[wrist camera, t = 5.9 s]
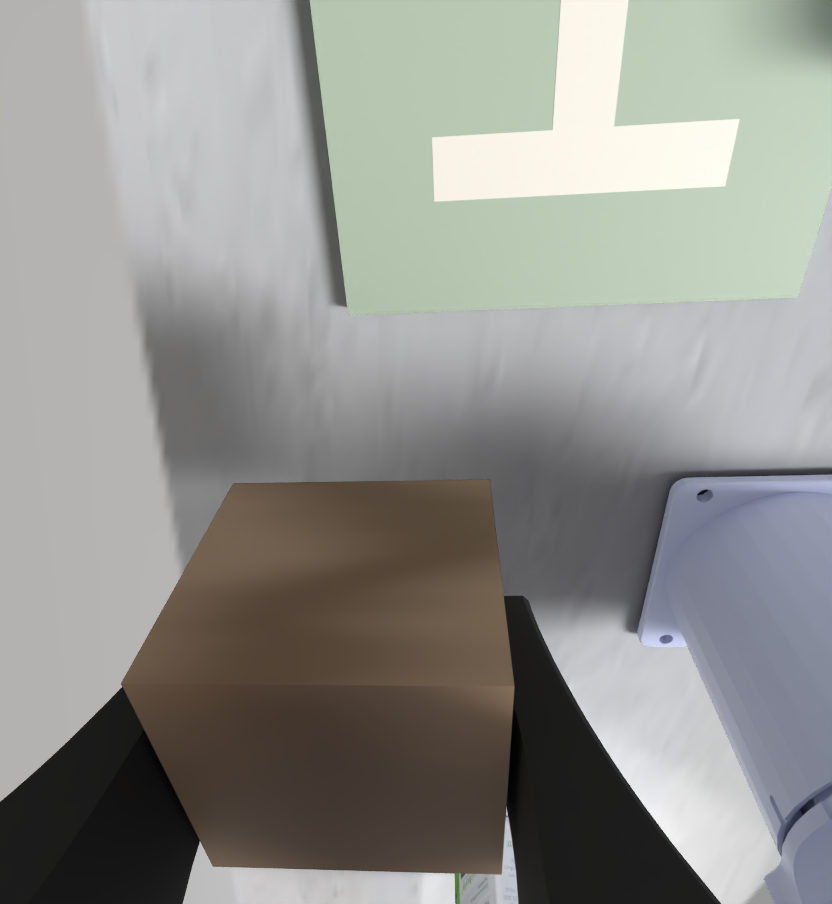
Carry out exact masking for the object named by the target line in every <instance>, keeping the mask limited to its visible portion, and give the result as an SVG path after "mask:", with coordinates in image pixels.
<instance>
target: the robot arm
mask: <svg viewBox="0 0 832 904" xmlns="http://www.w3.org/2000/svg"><path fill="white" fill-rule="evenodd" d="M706 489H708V490H707V492H706V493H704V494H702V495H697V494H698V493H699V492H700V491H702V490H706ZM504 603H505V612H506V620H507V628H508V637H509V645H510V653H511V661H512V670H513V678H514V686H515V687H514V701H513V716H512V731H511V746H510V760H509V775H508V790H507V804H506V806H507V812H508V818H509V825H510V831H511V837H512V844H513V852H514V860H515V868H516V879H517V891H518V904H721V903H720V902H719V901H718V899H717V898H716V897H715V896H714V894H713V893H712V892H711V891H710V890H709V888H708V887H707V886H706V885H705V883H704V882H703V881H702V880H701V878H700V877H699V876H698V875H697V874H696V872H695V871H694V870H693V869H692V867H691V866H690V865H689V864H688V862H687V861H686V860H685V859H684V858H683V856H682V855H681V854H680V853H679V851H678V850H677V849H676V848H675V846H674V845H673V844H672V843H671V841H670V840H669V839H668V837H667V836H666V835H665V833H664V832H663V831H662V829H661V828H660V827H659V825H658V824H657V823H656V821H655V820H654V819H653V817H652V816H651V815H650V813H649V812H648V811H647V809H646V808H645V807H644V805H643V804H642V802H641V801H640V799H639V798H638V797H637V795H636V794H635V792H634V791H633V790H632V788H631V787H630V785H629V784H628V783H627V781H626V780H625V778H624V777H623V775H622V774H621V772H620V771H619V769H618V768H617V766H616V765H615V763H614V762H613V760H612V759H611V757H610V756H609V754H608V753H607V751H606V750H605V748H604V747H603V745H602V743H601V742H600V740H599V739H598V737H597V735H596V734H595V732H594V731H593V729H592V727H591V726H590V724H589V722H588V721H587V719H586V717H585V716H584V714H583V712H582V711H581V709H580V707H579V706H578V704H577V702H576V700H575V698H574V697H573V695H572V693H571V691H570V689H569V688H568V686H567V684H566V682H565V680H564V679H563V677H562V675H561V673H560V671H559V669H558V667H557V665H556V663H555V662H554V660H553V658H552V655H551V653H550V651H549V649H548V647H547V645H546V643H545V641H544V639H543V637H542V634H541V632H540V630H539V628H538V625H537V623H536V620H535V618H534V615H533V613H532V610H531V607H530V604H529V601H528V600H527V599H526V598H525V597H524V596H504ZM637 633H638V638H639V640H640V642H641V644H643V645H645V646H648V647H688V649H689V651H690V653H691V655H692V658H693V660H694V662H695V664H696V667H697V669H698V671H699V673H700V676H701V678H702V680H703V682H704V685H705V687H706V689H707V691H708V694H709V696H710V698H711V701H712V703H713V705H714V707H715V710H716V712H717V714H718V716H719V719H720V721H721V723H722V725H723V728H724V730H725V732H726V734H727V737H728V739H729V741H730V743H731V746H732V748H733V750H734V752H735V755H736V757H737V759H738V761H739V764H740V766H741V768H742V770H743V773H744V775H745V777H746V779H747V782H748V784H749V786H750V788H751V791H752V793H753V795H754V798H755V800H756V802H757V804H758V807H759V809H760V811H761V813H762V816H763V818H764V820H765V822H766V825H767V827H768V829H769V831H770V834H771V836H772V838H773V840H774V843H775V845H776V847H777V849H778V851H779V853H780V855H781V857H782V858H781V862H780V864H779V865H778V866H777V867H776V868H775V869H774V870H773V871H772V872H770V873H769V874H767V875H766V876H765V878H764V880H765V883H766V885H767V888H768V890H769V892H770V895H771V897H772V900H773V902H774V904H832V475H791V476H742V477H692V478H683V479H680V480H678V481H676V482H675V483H674V484H673V485H672V487H671V489H670V492H669V496H668V501H667V505H666V510H665V514H664V518H663V523H662V527H661V531H660V536H659V540H658V545H657V549H656V553H655V558H654V562H653V566H652V571H651V575H650V580H649V584H648V588H647V593H646V597H645V601H644V606H643V610H642V615H641V619H640V623H639V628H638V632H637ZM199 842H200V840H199V838H198V836H197V834H196V832H195V830H194V828H193V826H192V824H191V822H190V820H189V818H188V816H187V814H186V812H185V810H184V808H183V806H182V804H181V802H180V800H179V798H178V796H177V794H176V792H175V790H174V788H173V786H172V784H171V782H170V780H169V778H168V776H167V774H166V772H165V770H164V768H163V766H162V764H161V762H160V760H159V758H158V756H157V754H156V752H155V750H154V748H153V746H152V744H151V742H150V740H149V738H148V736H147V734H146V732H145V730H144V728H143V726H142V724H141V722H140V720H139V718H138V716H137V714H136V712H135V710H134V708H133V706H132V704H131V702H130V700H129V698H128V696H127V694H126V692H125V690H124V688H123V687H122V688H121V689H120V690H119V691H118V692H117V693H116V694H115V695H114V696H113V697H112V698H111V699H110V700H109V701H108V702H107V703H106V704H105V705H104V706H103V707H102V708H101V709H100V710H99V711H98V712H97V713H96V714H95V715H94V716H93V717H92V718H91V719H90V720H89V721H88V722H87V723H86V724H85V725H84V726H83V727H82V728H81V729H80V730H79V731H78V732H77V733H76V734H75V735H74V736H73V737H72V738H71V739H70V740H69V741H68V742H67V743H66V744H65V745H64V746H63V747H61V748H60V749H59V751H57V752H56V753H55V754H54V755H53V756H52V757H51V758H50V759H49V760H47V761H46V762H45V763H44V764H43V765H42V766H41V767H40V768H39V769H38V770H37V771H35V772H34V773H33V774H32V775H31V776H30V777H29V778H28V779H26V780H25V781H24V782H23V783H22V784H21V785H19V786H18V787H17V788H16V789H15V790H14V791H13V792H11V793H10V794H9V795H8V796H7V797H6V798H4V799H3V800H2V801H1V802H0V904H182V903H183V900H184V896H185V892H186V888H187V884H188V880H189V876H190V872H191V869H192V864H193V861H194V858H195V855H196V852H197V848H198V845H199Z"/></svg>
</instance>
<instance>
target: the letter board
mask: <svg viewBox="0 0 832 904" xmlns="http://www.w3.org/2000/svg"><path fill="white" fill-rule="evenodd" d="M310 7H311V15H312V24H313V32H314V40H315V48H316V56H317V65H318V73H319V81H320V89H321V97H322V106H323V114H324V122H325V130H326V138H327V147H328V155H329V163H330V171H331V179H332V188H333V196H334V204H335V212H336V220H337V229H338V237H339V245H340V253H341V261H342V270H343V278H344V286H345V294H346V302H347V311H348V315H369V314H394V313H419V312H444V311H469V310H494V309H519V308H544V307H569V306H594V305H619V304H644V303H669V302H694V301H719V300H744V299H769V298H794V297H798V295H799V291H800V288H801V285H802V282H803V278H804V275H805V272H806V269H807V266H808V262H809V259H810V256H811V253H812V249H813V246H814V243H815V240H816V236H817V233H818V230H819V227H820V223H821V220H822V217H823V214H824V210H825V207H826V204H827V201H828V197H829V194H830V191H831V188H832V0H310Z"/></svg>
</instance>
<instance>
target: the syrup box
mask: <svg viewBox="0 0 832 904" xmlns="http://www.w3.org/2000/svg"><path fill="white" fill-rule="evenodd" d="M455 903H456V904H518V891H517V879H516V868H515V860H514V852H513V844H512V837H511V831H510V825H509V818H508V817H506V819H505V834H504V849H503V863H502V875H496V874H461V873H455Z"/></svg>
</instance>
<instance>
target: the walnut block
mask: <svg viewBox="0 0 832 904" xmlns="http://www.w3.org/2000/svg"><path fill="white" fill-rule="evenodd" d="M121 684H122V686H123V688H124V690H125V692H126V694H127V696H128V698H129V700H130V702H131V704H132V706H133V708H134V710H135V712H136V714H137V716H138V718H139V720H140V722H141V724H142V726H143V728H144V730H145V732H146V734H147V736H148V738H149V740H150V742H151V744H152V746H153V748H154V750H155V752H156V754H157V756H158V758H159V760H160V762H161V764H162V766H163V768H164V770H165V772H166V774H167V776H168V778H169V780H170V782H171V784H172V786H173V788H174V790H175V792H176V794H177V796H178V798H179V800H180V802H181V804H182V806H183V808H184V810H185V812H186V814H187V816H188V818H189V820H190V822H191V824H192V826H193V828H194V830H195V832H196V834H197V836H198V838H199V840H200V842H201V844H202V846H203V848H204V850H205V852H206V853H207V856H208V857H209V859H210V861H211V864H212V865H213V866H214V867H249V868H284V869H320V870H355V871H390V872H426V873H461V874H496V875H502V863H503V849H504V834H505V819H506V804H507V790H508V775H509V760H510V746H511V731H512V716H513V701H514V687H515V686H514V678H513V670H512V661H511V653H510V645H509V637H508V628H507V620H506V612H505V603H504V595H503V587H502V578H501V570H500V562H499V554H498V545H497V537H496V529H495V520H494V512H493V504H492V495H491V487H490V480H429V481H362V482H296V483H233V485H232V487H231V489H230V490H229V492H228V494H227V496H226V497H225V499H224V501H223V503H222V505H221V506H220V508H219V510H218V512H217V513H216V515H215V517H214V519H213V521H212V522H211V524H210V526H209V528H208V530H207V531H206V533H205V535H204V537H203V538H202V540H201V542H200V544H199V546H198V547H197V549H196V551H195V553H194V554H193V556H192V558H191V560H190V562H189V563H188V565H187V567H186V569H185V570H184V572H183V574H182V576H181V578H180V579H179V581H178V583H177V585H176V587H175V588H174V590H173V592H172V594H171V595H170V597H169V599H168V601H167V603H166V604H165V606H164V608H163V610H162V611H161V613H160V615H159V617H158V619H157V620H156V622H155V624H154V626H153V628H152V629H151V631H150V633H149V635H148V637H147V638H146V640H145V642H144V643H143V645H142V647H141V649H140V651H139V652H138V654H137V656H136V658H135V659H134V661H133V663H132V665H131V667H130V669H129V671H128V672H127V674H126V676H125V677H124V679H123V681H122V683H121Z"/></svg>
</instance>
